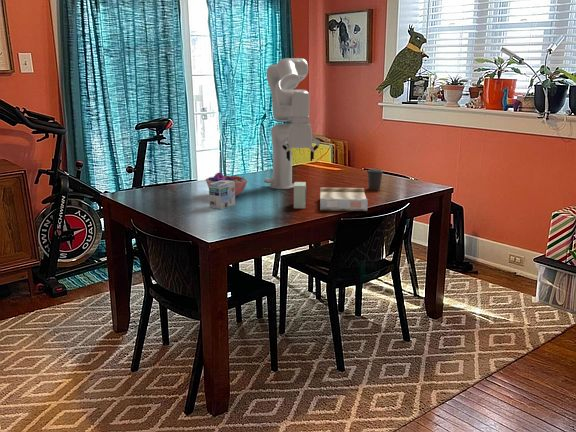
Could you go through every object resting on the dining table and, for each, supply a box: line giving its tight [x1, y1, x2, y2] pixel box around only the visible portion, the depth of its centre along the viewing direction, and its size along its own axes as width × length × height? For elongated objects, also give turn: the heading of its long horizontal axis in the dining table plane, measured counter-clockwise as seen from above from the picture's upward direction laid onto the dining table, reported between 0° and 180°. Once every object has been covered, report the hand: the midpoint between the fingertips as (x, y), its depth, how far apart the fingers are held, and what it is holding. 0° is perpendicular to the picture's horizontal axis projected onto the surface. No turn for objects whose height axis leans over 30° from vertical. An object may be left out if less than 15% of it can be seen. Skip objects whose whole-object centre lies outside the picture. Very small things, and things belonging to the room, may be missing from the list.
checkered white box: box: [319, 187, 369, 212], centre depth 255 cm, size 20×22×6 cm
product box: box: [293, 181, 307, 209], centre depth 253 cm, size 5×8×10 cm, turn 177°
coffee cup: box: [366, 168, 384, 191], centre depth 286 cm, size 8×8×10 cm
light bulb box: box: [208, 180, 236, 210], centre depth 253 cm, size 11×7×11 cm, turn 148°
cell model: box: [205, 171, 248, 197], centre depth 270 cm, size 17×20×11 cm
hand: (300, 160), depth 249 cm, fingers open, 9 cm apart
